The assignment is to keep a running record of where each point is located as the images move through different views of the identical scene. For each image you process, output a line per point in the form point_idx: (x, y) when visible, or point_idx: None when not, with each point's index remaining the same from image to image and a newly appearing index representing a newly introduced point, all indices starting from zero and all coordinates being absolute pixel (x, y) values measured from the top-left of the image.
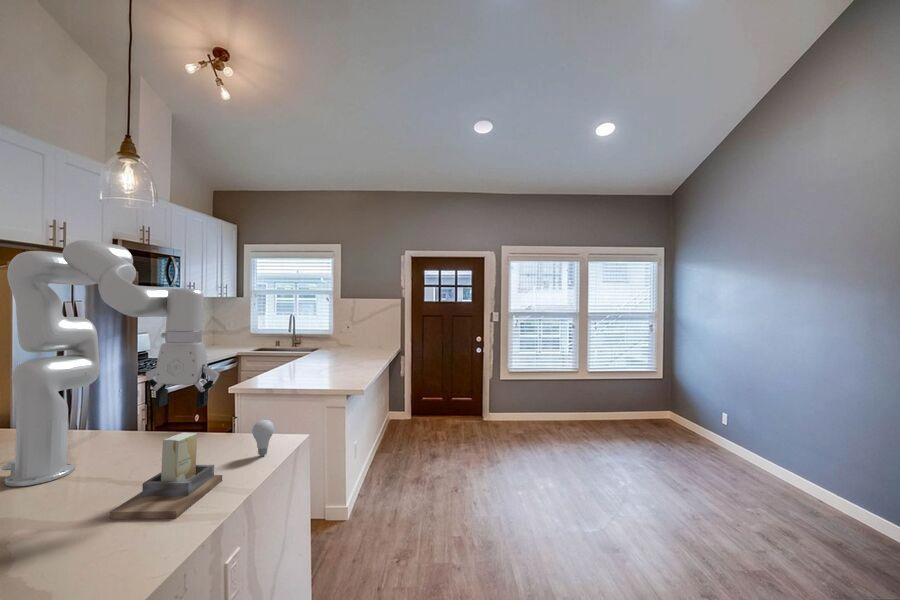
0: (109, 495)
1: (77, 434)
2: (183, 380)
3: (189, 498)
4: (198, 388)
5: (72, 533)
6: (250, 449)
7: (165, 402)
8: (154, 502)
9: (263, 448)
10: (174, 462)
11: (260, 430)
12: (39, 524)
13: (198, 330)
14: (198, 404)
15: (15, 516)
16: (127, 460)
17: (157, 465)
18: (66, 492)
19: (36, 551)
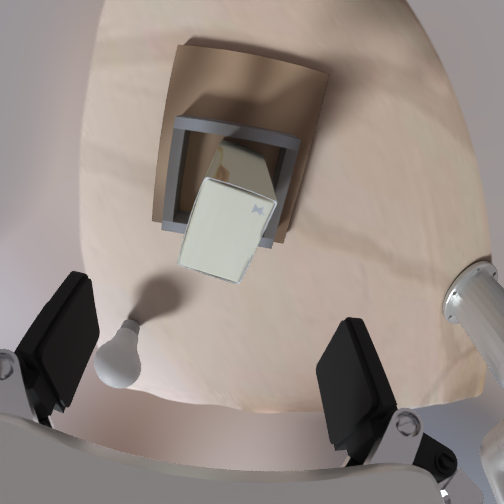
0: (372, 191)
1: (439, 397)
2: (72, 491)
3: (173, 100)
4: (16, 382)
5: (363, 41)
6: (173, 353)
7: (324, 368)
8: (249, 93)
9: (122, 328)
10: (223, 157)
11: (109, 354)
12: (430, 103)
13: None
14: (64, 282)
15: (468, 152)
16: (382, 335)
17: (329, 313)
18: (437, 225)
19: (382, 4)
